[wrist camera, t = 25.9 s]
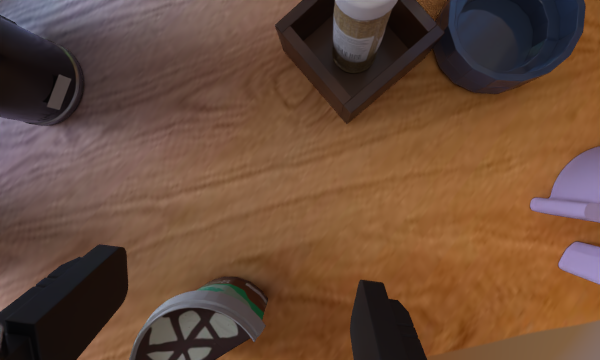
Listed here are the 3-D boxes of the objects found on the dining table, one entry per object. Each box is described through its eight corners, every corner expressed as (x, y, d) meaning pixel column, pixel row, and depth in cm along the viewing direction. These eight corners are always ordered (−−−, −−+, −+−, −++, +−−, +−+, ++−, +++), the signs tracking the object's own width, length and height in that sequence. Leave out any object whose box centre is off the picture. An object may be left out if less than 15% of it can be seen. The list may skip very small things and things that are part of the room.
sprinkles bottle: (385, 50, 33) (424, -35, 20) (354, 83, 33) (371, 22, 20) (352, 20, 33) (369, -84, 20) (322, 54, 34) (317, -27, 20)
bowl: (408, 36, 34) (422, 11, 29) (494, -39, 33) (524, -77, 28) (480, 117, 33) (507, 107, 28) (569, 43, 32) (614, 19, 27)
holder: (283, 50, 35) (274, 24, 29) (358, -17, 34) (365, -57, 28) (346, 124, 34) (350, 113, 28) (425, 57, 34) (445, 32, 28)
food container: (249, 243, 35) (218, 269, 25) (279, 292, 35) (260, 338, 25) (157, 301, 36) (93, 348, 26) (186, 349, 36) (132, 415, 26)
